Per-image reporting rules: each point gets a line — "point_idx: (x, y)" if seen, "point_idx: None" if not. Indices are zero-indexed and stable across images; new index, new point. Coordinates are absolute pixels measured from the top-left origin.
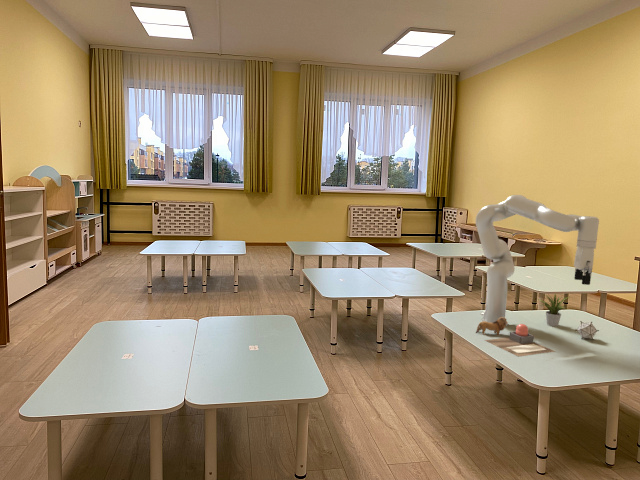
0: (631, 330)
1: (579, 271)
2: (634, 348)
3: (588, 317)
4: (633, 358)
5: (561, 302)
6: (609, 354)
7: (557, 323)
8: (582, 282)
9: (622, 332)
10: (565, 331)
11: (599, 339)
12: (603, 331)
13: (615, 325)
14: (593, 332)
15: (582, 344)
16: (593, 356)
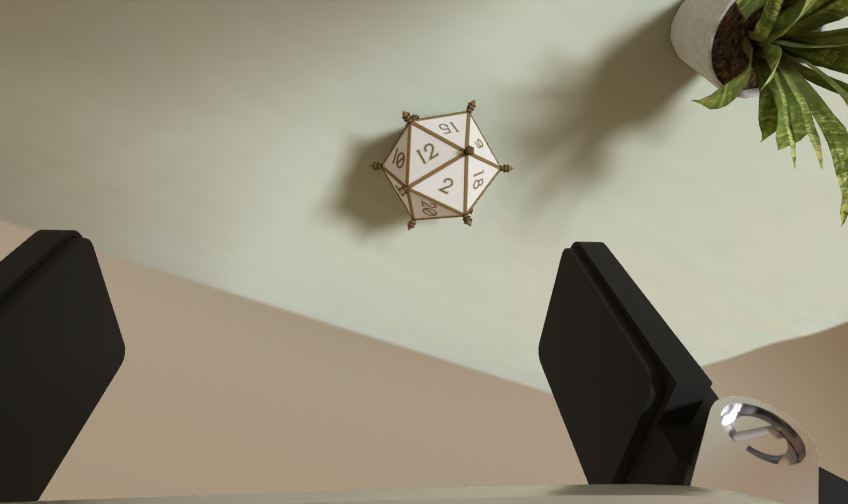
0: None
1: (638, 457)
2: (329, 323)
3: (815, 300)
4: (158, 266)
5: (821, 122)
6: (168, 173)
7: (681, 52)
8: (25, 251)
9: None
10: (565, 68)
11: None
12: None
13: None
14: (396, 190)
15: (307, 80)
16: (72, 59)
